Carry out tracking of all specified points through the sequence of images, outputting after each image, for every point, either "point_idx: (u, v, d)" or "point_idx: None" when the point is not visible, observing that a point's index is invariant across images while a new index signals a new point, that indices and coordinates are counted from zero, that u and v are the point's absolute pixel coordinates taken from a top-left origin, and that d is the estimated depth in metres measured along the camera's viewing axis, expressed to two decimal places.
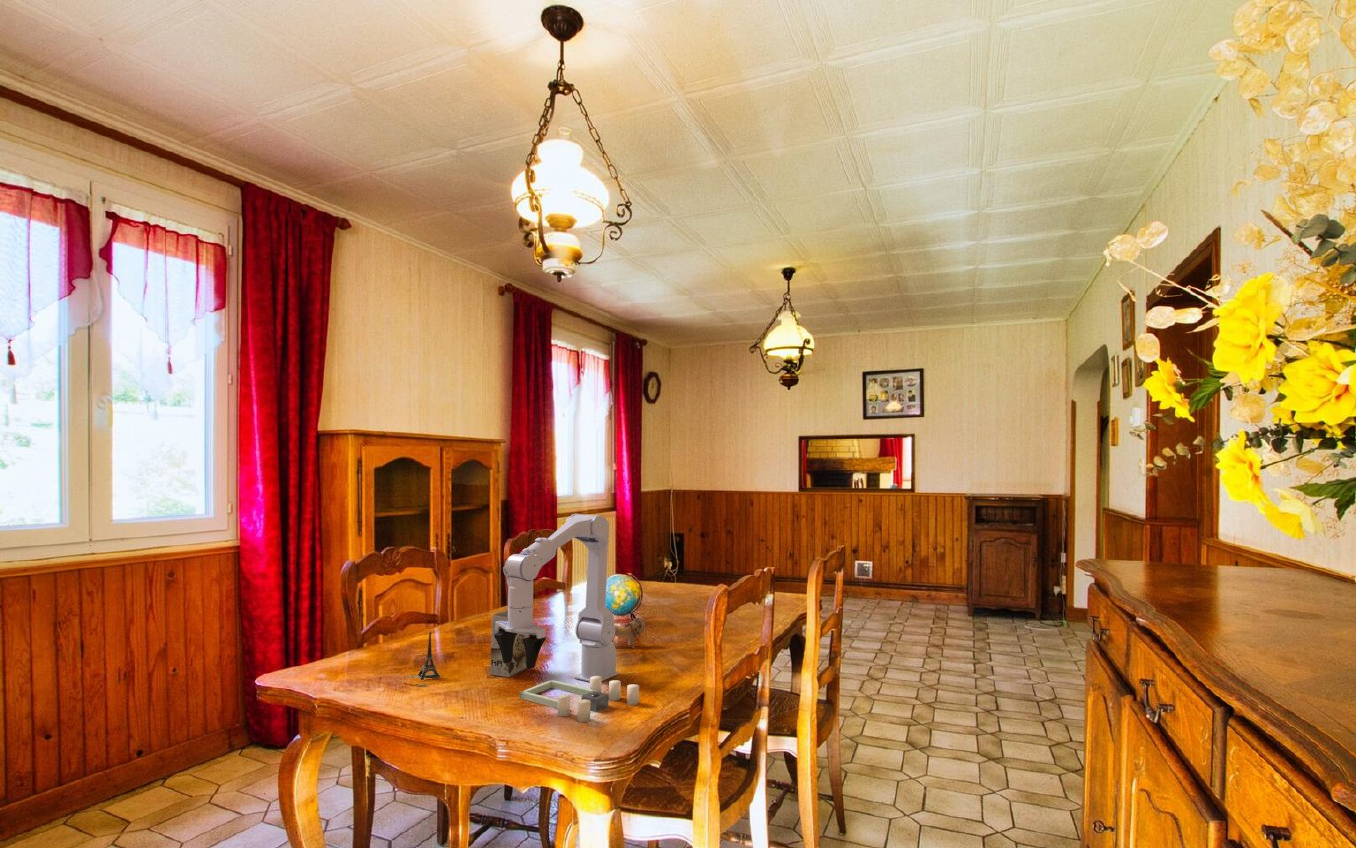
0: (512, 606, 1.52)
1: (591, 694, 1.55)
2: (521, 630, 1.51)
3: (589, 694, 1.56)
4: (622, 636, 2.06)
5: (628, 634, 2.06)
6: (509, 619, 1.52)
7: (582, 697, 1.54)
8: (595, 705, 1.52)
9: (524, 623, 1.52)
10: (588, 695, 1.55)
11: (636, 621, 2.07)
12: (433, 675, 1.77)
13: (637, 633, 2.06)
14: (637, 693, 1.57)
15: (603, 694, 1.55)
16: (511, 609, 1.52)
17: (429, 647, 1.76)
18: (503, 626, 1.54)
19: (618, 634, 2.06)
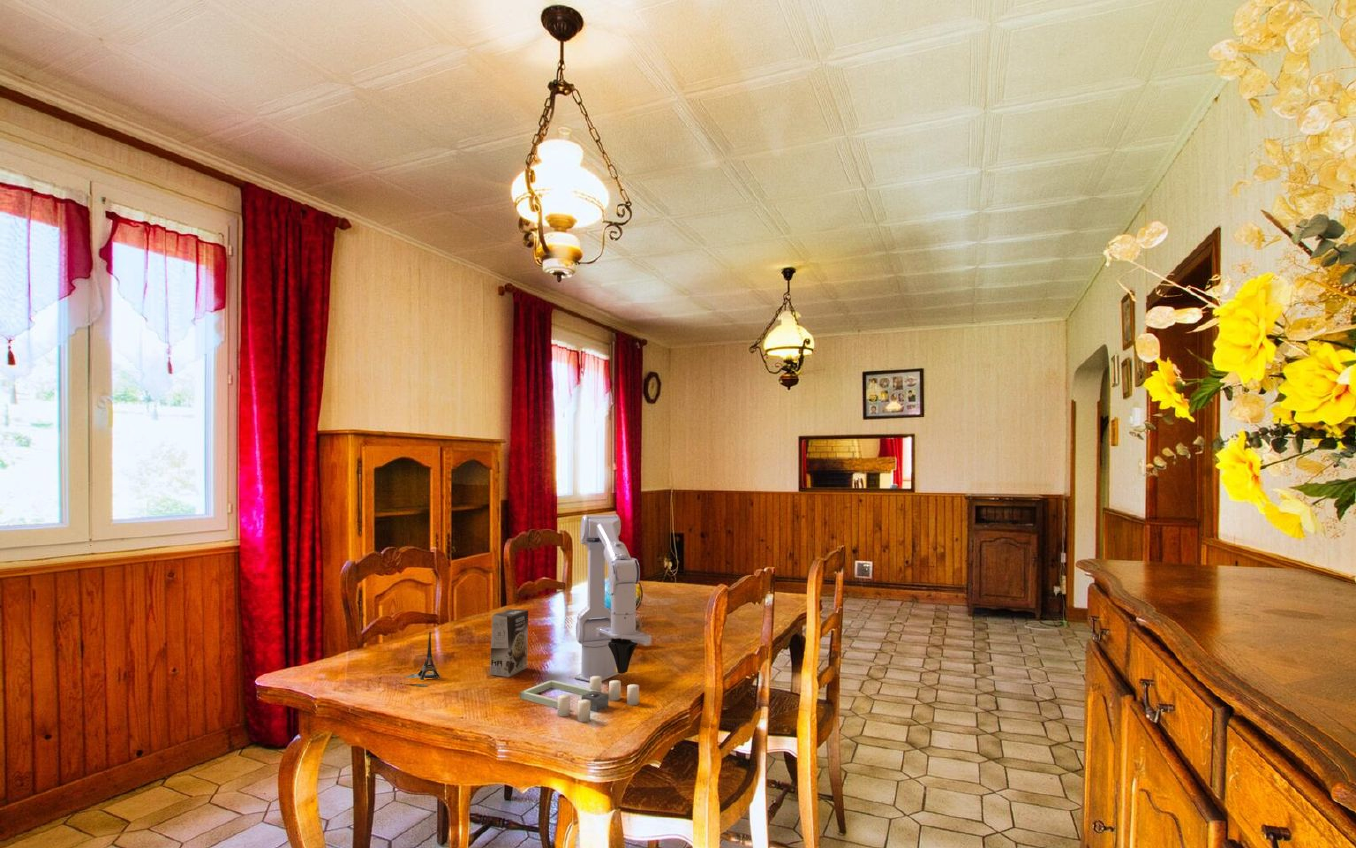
0: (627, 612, 1.49)
1: (591, 694, 1.55)
2: (626, 637, 1.48)
3: (589, 694, 1.56)
4: None
5: None
6: (613, 625, 1.50)
7: (582, 697, 1.54)
8: (596, 705, 1.52)
9: (629, 629, 1.49)
10: (588, 695, 1.54)
11: None
12: (433, 675, 1.77)
13: None
14: (637, 693, 1.57)
15: (603, 694, 1.55)
16: (615, 615, 1.50)
17: (429, 647, 1.76)
18: (606, 633, 1.52)
19: None
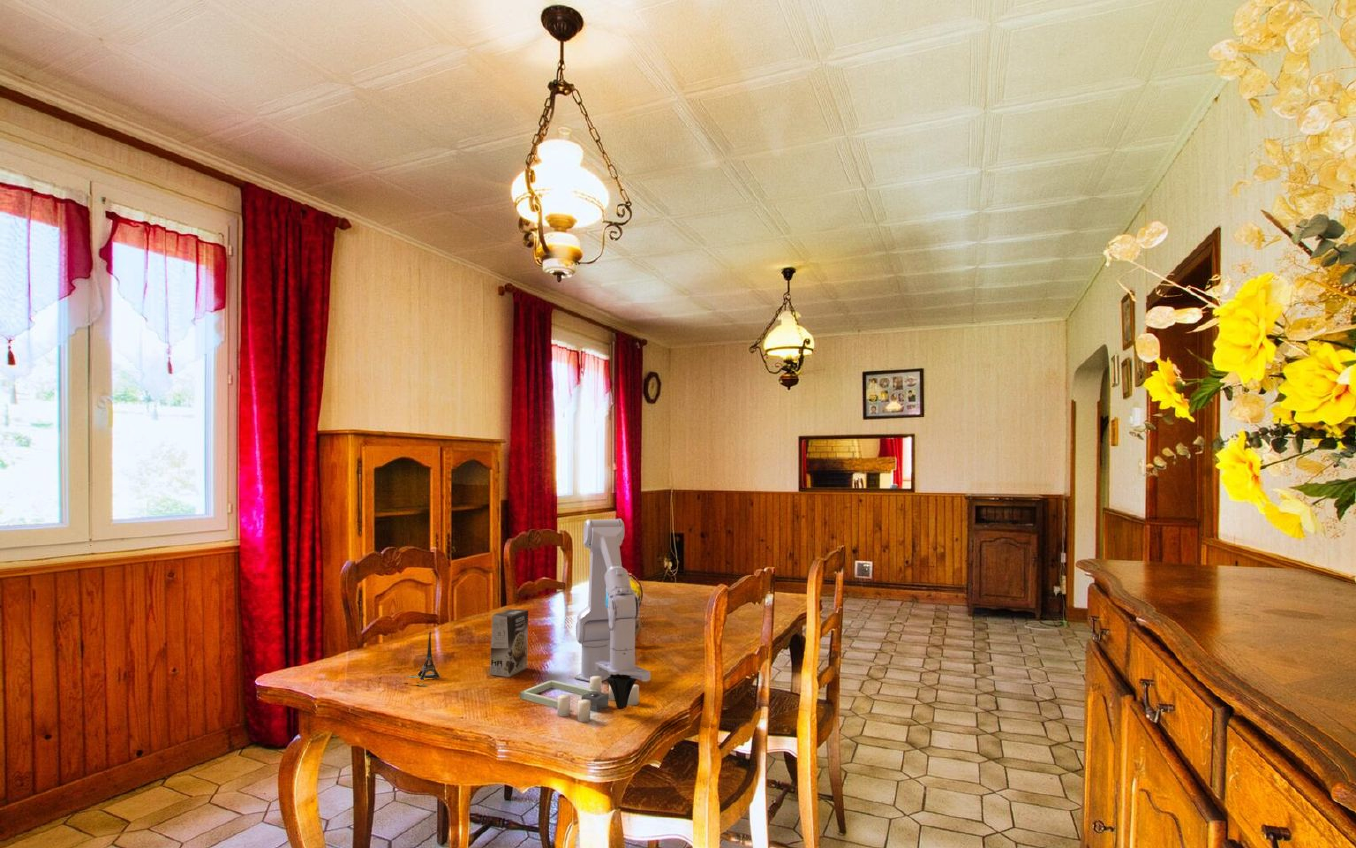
0: (627, 648, 1.49)
1: (591, 694, 1.55)
2: (626, 673, 1.48)
3: (589, 694, 1.56)
4: None
5: None
6: (612, 661, 1.49)
7: (582, 697, 1.54)
8: (596, 705, 1.52)
9: (628, 665, 1.49)
10: (588, 695, 1.54)
11: None
12: (433, 675, 1.77)
13: None
14: (637, 693, 1.57)
15: (603, 694, 1.55)
16: (615, 651, 1.49)
17: (429, 647, 1.76)
18: (605, 668, 1.51)
19: None
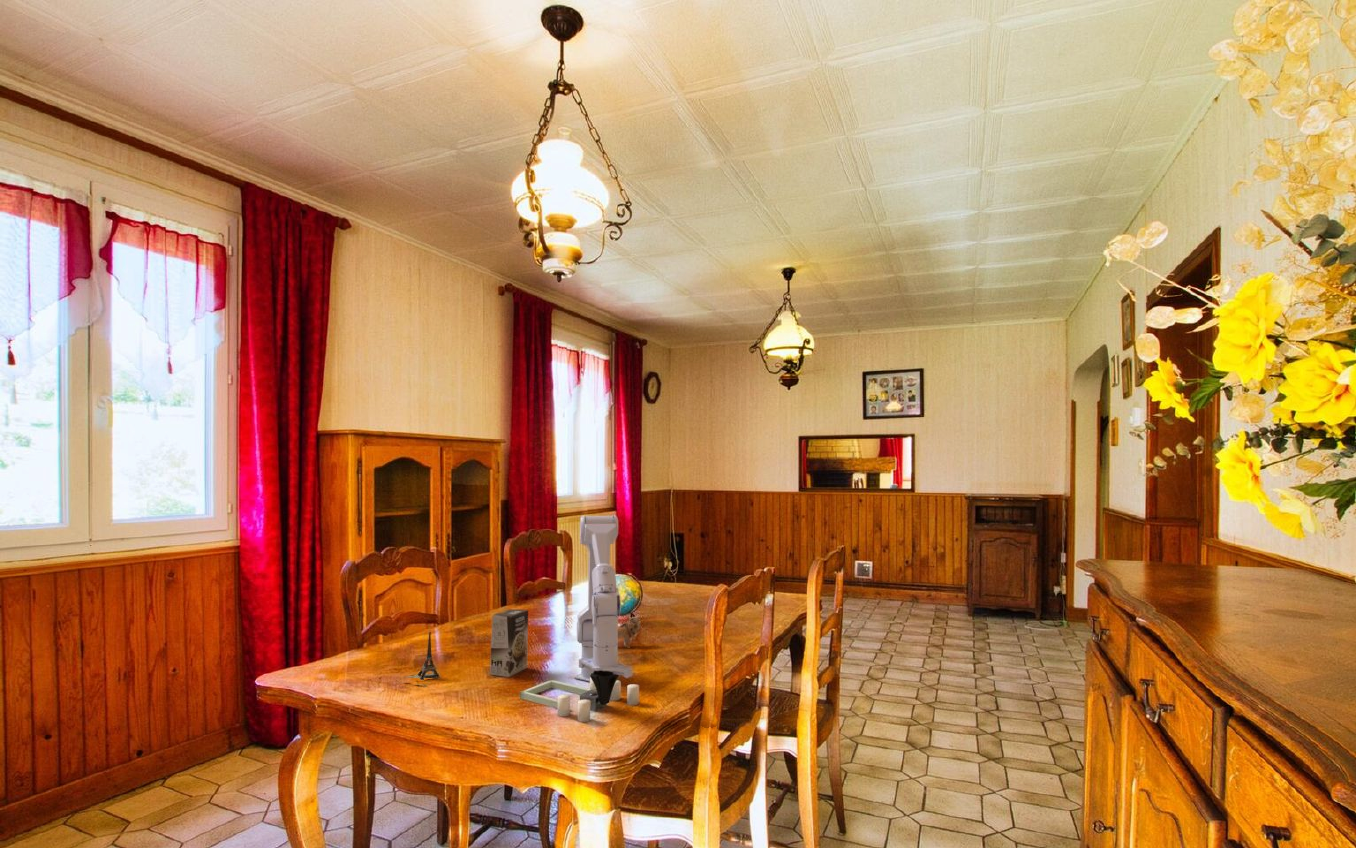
0: (608, 645, 1.51)
1: (589, 693, 1.55)
2: (608, 669, 1.50)
3: (587, 692, 1.56)
4: (618, 636, 2.06)
5: (624, 634, 2.06)
6: (595, 658, 1.52)
7: (580, 696, 1.54)
8: (594, 704, 1.52)
9: (610, 662, 1.52)
10: (586, 694, 1.55)
11: (632, 621, 2.07)
12: (433, 675, 1.77)
13: (633, 633, 2.06)
14: (637, 693, 1.57)
15: None
16: (597, 648, 1.52)
17: (429, 647, 1.76)
18: (588, 664, 1.54)
19: None
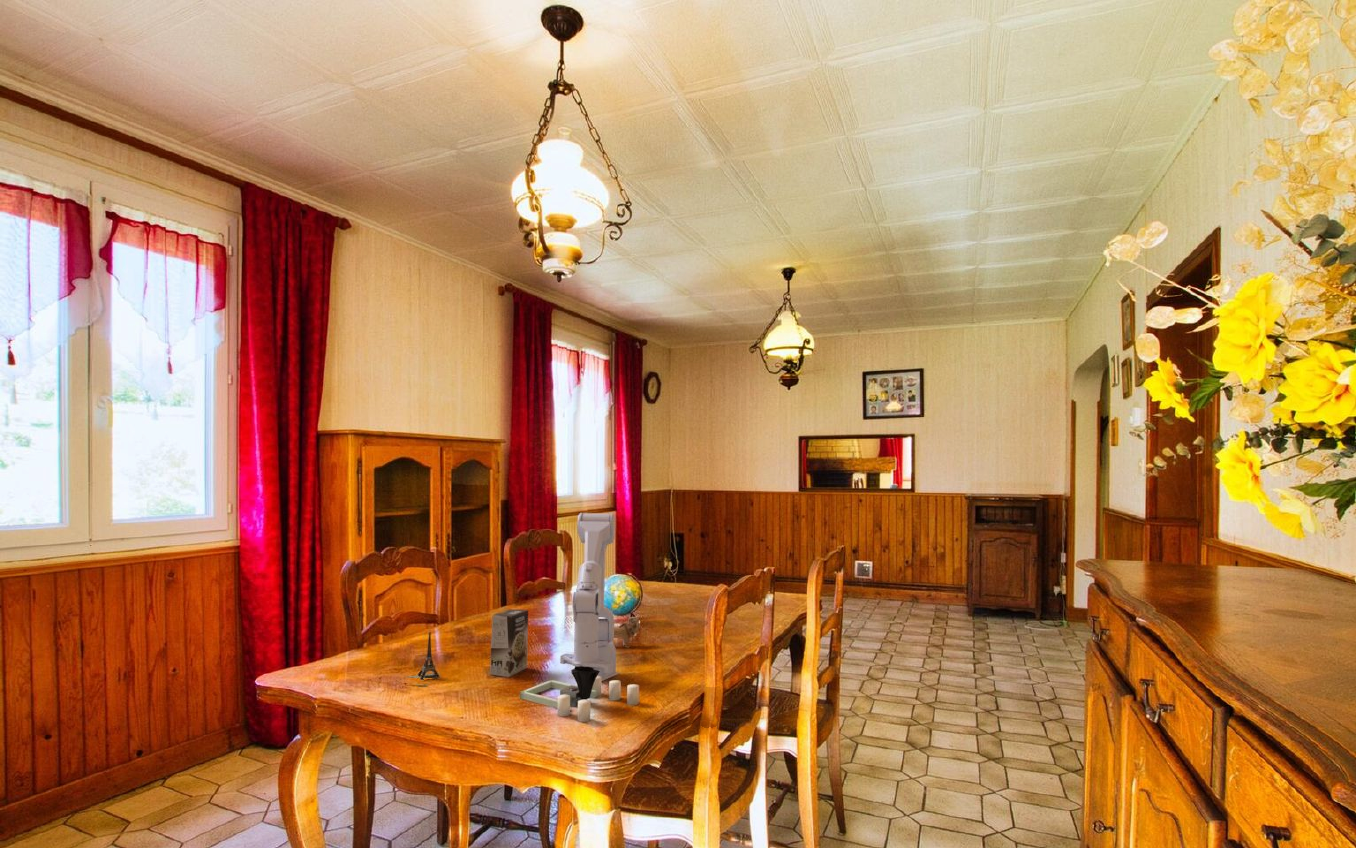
0: (586, 641, 1.54)
1: (569, 688, 1.58)
2: (588, 665, 1.54)
3: (568, 688, 1.59)
4: (617, 636, 2.06)
5: (623, 634, 2.06)
6: (576, 654, 1.55)
7: (561, 692, 1.57)
8: (575, 699, 1.55)
9: (591, 657, 1.55)
10: (567, 689, 1.58)
11: (631, 621, 2.07)
12: (433, 675, 1.77)
13: (632, 633, 2.06)
14: (637, 693, 1.57)
15: None
16: (578, 644, 1.55)
17: (429, 647, 1.76)
18: (569, 660, 1.57)
19: None
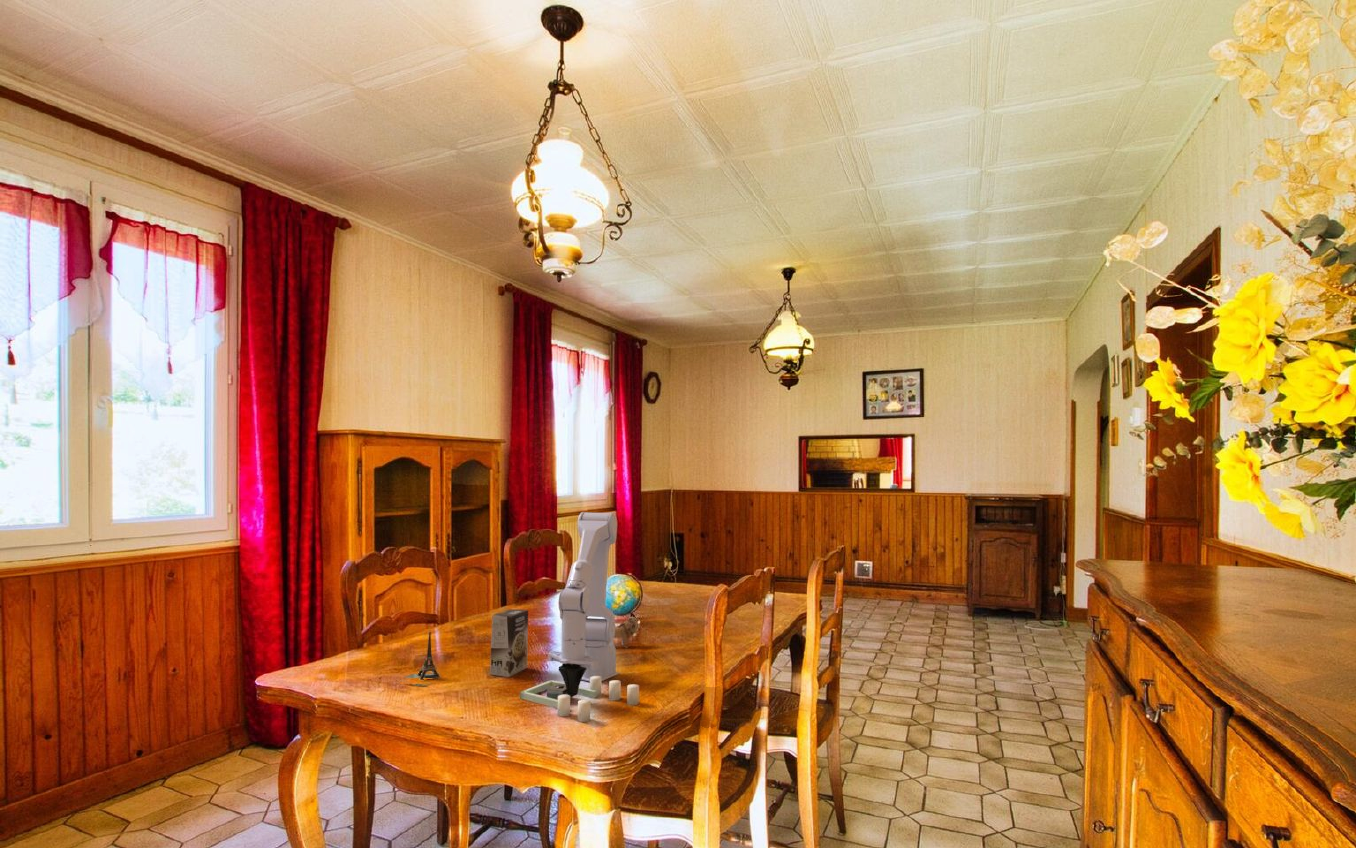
0: (570, 639, 1.57)
1: (556, 686, 1.60)
2: (575, 662, 1.56)
3: (554, 686, 1.60)
4: (615, 636, 2.06)
5: (621, 634, 2.06)
6: (563, 651, 1.57)
7: (548, 689, 1.58)
8: None
9: (578, 655, 1.57)
10: (553, 687, 1.59)
11: (629, 621, 2.07)
12: (433, 675, 1.77)
13: (630, 633, 2.06)
14: (637, 693, 1.57)
15: None
16: (565, 641, 1.57)
17: (429, 647, 1.76)
18: (557, 657, 1.59)
19: None
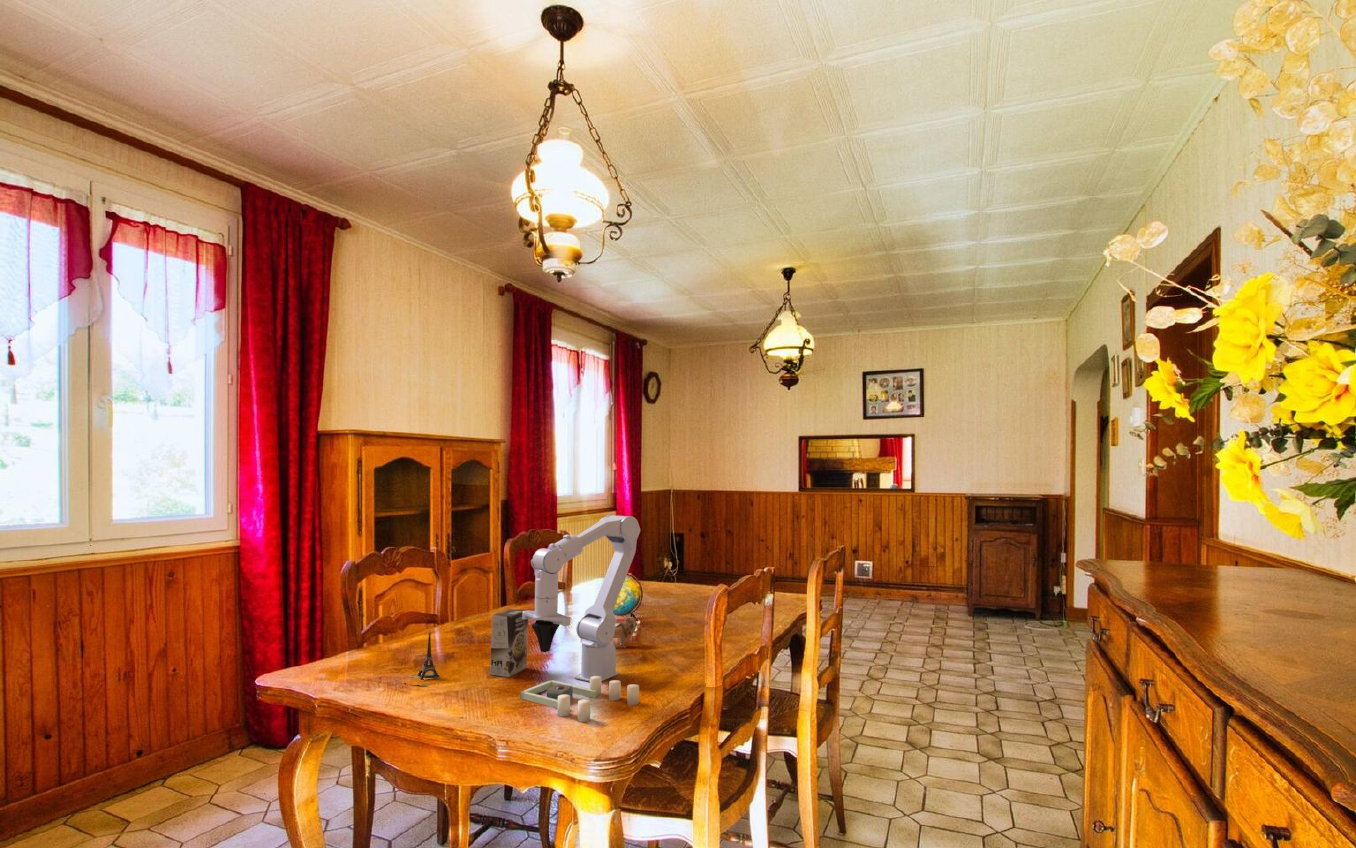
0: (537, 596, 1.65)
1: (556, 687, 1.60)
2: (548, 618, 1.63)
3: (554, 686, 1.60)
4: (614, 636, 2.06)
5: (620, 634, 2.06)
6: (536, 608, 1.65)
7: (547, 690, 1.59)
8: None
9: (550, 612, 1.64)
10: (553, 688, 1.59)
11: (628, 621, 2.07)
12: (433, 675, 1.77)
13: (629, 633, 2.06)
14: (637, 693, 1.57)
15: (568, 687, 1.60)
16: (538, 599, 1.64)
17: (429, 647, 1.76)
18: (530, 615, 1.66)
19: None
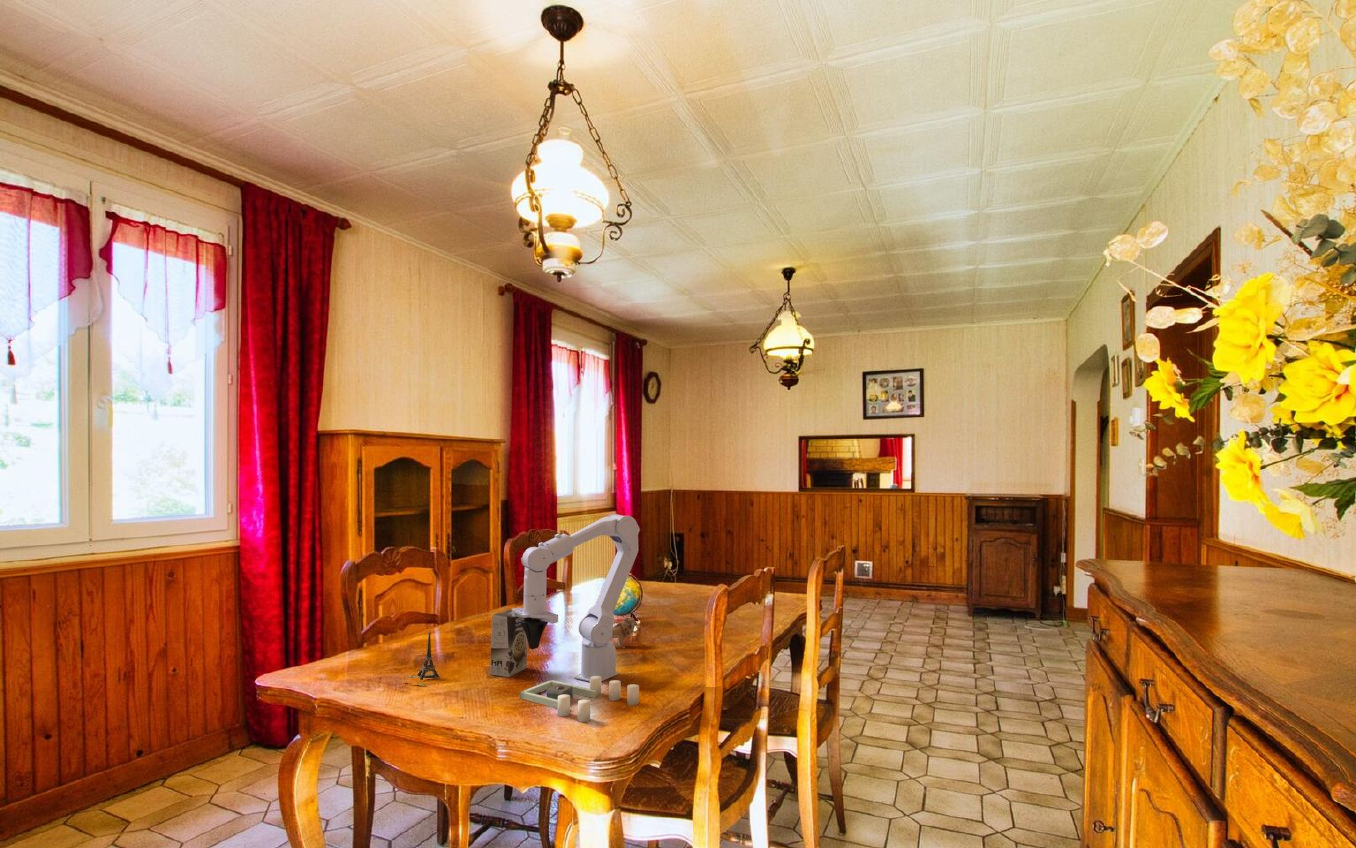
0: (524, 593, 1.68)
1: (556, 687, 1.60)
2: (536, 616, 1.66)
3: (554, 686, 1.60)
4: (612, 636, 2.05)
5: (618, 634, 2.05)
6: (525, 606, 1.67)
7: (547, 690, 1.59)
8: None
9: (538, 609, 1.67)
10: (553, 688, 1.59)
11: (626, 621, 2.07)
12: (432, 675, 1.77)
13: (627, 633, 2.06)
14: (637, 693, 1.57)
15: (568, 687, 1.60)
16: (527, 597, 1.67)
17: (429, 647, 1.76)
18: (519, 612, 1.69)
19: None
